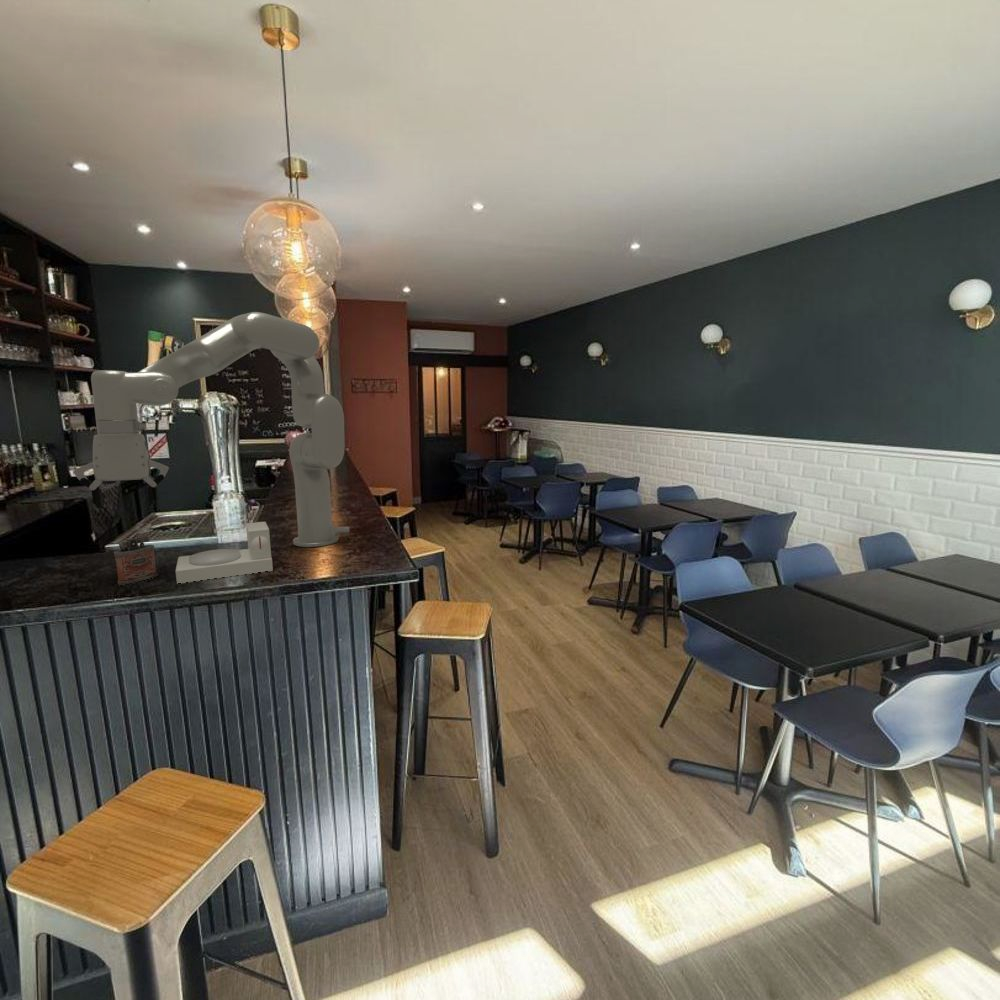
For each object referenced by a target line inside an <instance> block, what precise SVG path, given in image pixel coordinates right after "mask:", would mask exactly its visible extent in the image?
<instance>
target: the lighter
mask: <svg viewBox="0 0 1000 1000" xmlns="http://www.w3.org/2000/svg"><path fill="white" fill-rule="evenodd" d="M150 539H151V537H150V536H149V535H143V536H138V537H136V538H133V537H128V538H126V540H122V541H118V547H119V549H120V550H116V551H114V552H113V556H114V557H115V559H114V560H115V565H116V571H117V579H118V580H117V585H118V584H119V585H118V586H120V585H123V586H126V585H125V584H129V583H134V582H138V581H142V580H146V579H149V580H151V579H150V578H152V579H154V578H153V577H156V576H158V574H159V573H158V572H157V568H156V559H155V551H154V550H155V545H154V544H145V543H148V542H150V541H151V540H150ZM156 578H157V577H156ZM146 581H147V580H146ZM142 582H143V581H142ZM138 583H139V582H138ZM134 584H135V583H134ZM129 585H130V584H129Z"/></svg>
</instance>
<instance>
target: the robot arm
mask: <svg viewBox="0 0 1000 1000" xmlns="http://www.w3.org/2000/svg"><path fill="white" fill-rule="evenodd" d="M256 349H266V350H270V352H271V353H272V354H273V355H272V356H274V357H275V358H277V359H278V360H279V361H281V363H282V364H283V365H284V366H285V367H286V369H287V371H288V373H289V377H290V382H291V405H292V407H291V408H292V417H293V420H294V422H295V424H297V425H298V426H299V427H302V428H305V429H311V432H307V433H306V432H305V433H301V434H298V435H296V436H295V437H294V438H293V439H292V440H291V441H290V444H289V447H288V449H289V450H288V454H289V460H290V464H291V467H292V471H293V479H294V492H295V506H296V519H297V520H296V521H297V522H296V523H297V534H298V535H297V537H294V538H293V540H292V544H293V545H294V546H296V547H300V548H301V547H302V548H314V547H315V548H316V547H318V548H319V547H325V546H328V545H332V544H335V543H337V542H339V540H340V539H339V534H349V533H350V526H342V525H341V526H335V525H334V524H333V515H332V514H333V513H332V499H331V498H332V497H331V482H330V476H329V473H328V470H332V469H335V468H336V467H338V466H339V465H340V464H341V462H342V461H343V460H344V455H345V446H346V445H345V444H346V443H345V416H344V410H343V407H342V405H341V403H340V401H339V400H338V399H337V398H336V397H335V396H333V395H331V394H328V393H325V386H324V375H323V371H322V368H321V365H320V363H319V361H318V360H317V359H316V357H315V356H316V355H317V353H318V352H319V349H320V339H319V336H318V334H317V333H316V332H315V330H313V328H311V327H309V326H308V325H306V324H303V323H300V322H296V321H294V320H293V321H292V320H289V319H285V318H283V317H280V316H275V315H272V314H269V313H264V312H262V311H261V312H259V311H251V312H247V313H243V314H239V315H236V316H233V317H232V318H230V319H228V320H227V321H224V322H223V323H222V324H220V325H218V326H217V327H215V328H213V329H212V330H210V331H208V332H206V333H205V334H203V335H200V336H199V337H198V338H197V337H196V339H194V340H192V341H190V342H188V343H187V344H185V345H183V346H181V347H180V348H179V349H176V350H175V351H173V352H171V353H169V354H166V356H164V357H162V358H159V359H158V360H156V361H155V362H152V363H151V364H149V365H148V366H146V367H144V368H143V369H141V370H139V371H137V372H129V371H128V372H127V371H125V370H113V369H112V370H111V369H109V370H108V369H104V370H103V369H101V370H94V371H93V372H92V373H91V377H90V382H91V390H92V391H91V392H92V398H93V400H92V401H93V406H94V415H95V424H96V432H97V433H96V434H94V435H93V439H92V440H93V441H92V461H91V462H88V463H87V464H84V465H82V466H79V467H78V468H76V469H74V470H73V471H72V473H73V474H74V476H75V477H76V478H77V480H79V482H80V483H81V484H82V485H83V486H85V487H86V488H88V489H89V491H91V496H92V504H93V505H96V509H101V508H103V507H104V499H103V492H102V491H103V490H102V489H101V488H100V485H101V484H102V483H103V482H114V481H115V482H116V481H117V482H118V481H135V480H137V481H138V480H142V481H144V482H145V483H147V484H148V488H147V490H148V491H147V493H148V502H149V505H151V506H154V505H155V501H156V502H157V501H158V492H157V486H158V485H159V484H160V483H161V482H162V481H163V480H164V479H165V477H166V475H167V474H168V471H169V469H170V467H169V466H167V465H165V464H163V463H161V462H157V461H154V460H152V459H151V458H150V455H149V448H148V444H147V440H146V438H145V435H144V434H142V433H140V431H141V430H142V431H143V430H147V423H146V422H145V423H144V422H141V421H139V420H138V418H139V416H138V408H137V407H138V405H137V404H139V405H142V406H154V407H155V406H157V407H158V406H165V405H169V404H171V403H172V402H174V401H175V400H176V398H177V397H178V395H179V388H181V387H183V386H185V385H187V384H189V383H191V382H194V381H197V380H199V379H204V378H207V377H210V376H212V375H215V374H217V373H220V372H221V371H223V370H224V369H225V368H227V367H228V366H230V365H232V364H233V363H234V362H236V361H237V360H239V359H241V358H242V357H244V356H245V355H248V354H249V353H251V352H252V351H254V350H256ZM151 467H152V468H154V469H156V470H159V474H158V475H157V476H156V477H155V478H154V477H152V475H151V474H152V470H151ZM92 469H93V475H94V480H91V479H89V478H88V477H87V476H86V475H85V472H88V471H90V470H92Z"/></svg>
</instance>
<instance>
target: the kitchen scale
mask: <svg viewBox="0 0 1000 1000" xmlns="http://www.w3.org/2000/svg"><path fill="white" fill-rule="evenodd" d="M245 526H246V536H247V548H245V549H244V548H243V549H232V548H221V549H220V548H219V549H210V550H209V549H208V550H206V551H200V552H197V553H196V552H195V553H194V554H192V555H184V556H183V555H181V556H177V557H178V558H177V562H176V567H175V578H176V579H175V580H176V585H179V584H178V583H181V584H187V583H186V582H188V583H194V582H193V581H196V582H201V581H200V580H203V581H208V580H207V579H210V580H215V579H214V578H217V579H223V578H222V577H225V578H231V577H230V576H232V577H237V576H236V575H239V576H245V574H247V575H253V574H252V573H254V574H259V573H258V572H261V573H266V572H265V571H268V572H273V571H274V569H273V558H272V550H271V548H272V547H271V539H270V528H269V526H268V524H267V522H266V521H257V522H247V523H245Z"/></svg>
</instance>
